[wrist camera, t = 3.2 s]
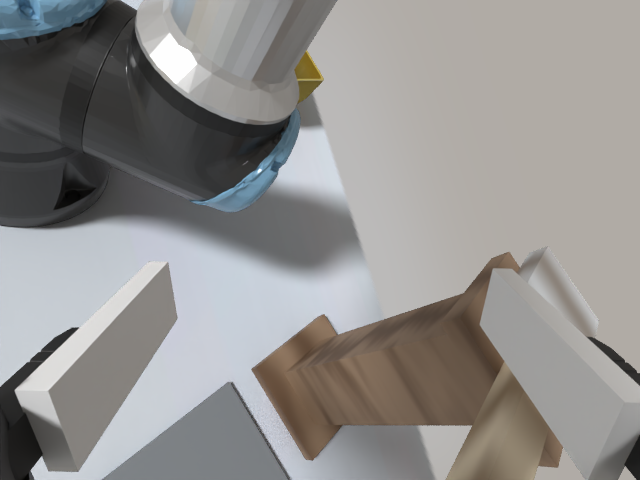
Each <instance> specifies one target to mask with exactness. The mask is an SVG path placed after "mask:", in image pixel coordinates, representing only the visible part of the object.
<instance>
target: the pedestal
mask: <svg viewBox="0 0 640 480" xmlns="http://www.w3.org/2000/svg"><path fill="white" fill-rule="evenodd" d="M493 268H505V269H513V270H514V271H515V272H516V273H517V272H518V270H519V269H520V267H519V266H518V264H517V263H516V262H515V260H514V258H513V257H512V255H511V254H510V253H509V252H507V253H504V254H502V255H499V256H497V257H494V258H492V259H491V260H490V261H489V262H488V264H487V265H486V266H485V267H484V269H483V270H482V271H481V272H480V274H479V275H478V276H477V277H476V279H475V280H474V281H473V282H472V284H471V285H470V286H469V287H468V289H467V290H466V291H465V293H463V294H460V295H457V296H454V297H451V298H448V299H445V300H442V301H439V302H436V303H433V304H430V305H427V306H424V307H421V308H418V309H415V310H412V311H408V312H405V313H402V314H399V315H396V316H394V317H390V318H387V319H384V320H381V321H378V322H375V323H372V324H369V325H366V326H363V327H360V328H357V329H354V330H351V331H348V332H345V333H342V334H339V335H337V334H336V332H335V331H334V329H333V328H332V326H331V324H330V323H329V321H328V320H327V318H326V316H325V315H324V314H323V315H321V316H319V317H317V318H316V319H315V320H313V321H312V322H311V323H310V324H308V325H307V326H306V327H304V328H303V329H302V330H301V331H299V332H298V333H297V334H296V335H294V336H293V337H292V338H290V339H289V340H288V341H287V342H285V343H284V344H283V345H282V346H280V347H279V348H278V349H276V350H275V351H274V352H273V353H271V354H270V355H269V356H268V357H266V358H265V359H264V360H262V361H261V362H260V363H259V364H257V365H256V366H255V367H254V368H252V369H251V370H252V371H253V373H254V375H255V376H256V378H257V380H258V381H259V383H260V385H261V386H262V388H263V390H264V391H265V393H266V395H267V396H268V398H269V399H270V401H271V403H272V404H273V406H274V408H275V409H276V411H277V413H278V414H279V416H280V418H281V419H282V421H283V423H284V424H285V426H286V428H287V429H288V431H289V433H290V434H291V436H292V437H293V439H294V441H295V442H296V444H297V446H298V447H299V449H300V451H301V452H302V454H303V456H304V457H305V459H306V460H312V461H313V460H314V458H315V457H316V456H317V455H318V454H319V452H320V451H321V450H322V449H323V448H324V446H325V445H326V444H327V443H328V442H329V441H330V439H331V438H332V437H333V436H334V435H335V433H336V432H337V431H338V430H339V429H340V427H341V426H342V425H473V424H474V422H475V420H476V418H477V416H478V413H479V411H480V409H481V407H482V405H483V403H484V401H485V399H486V397H487V395H488V393H489V391H490V389H491V387H492V385H493V383H494V381H495V379H496V377H497V375H498V373H499V371H500V369H501V367H502V365H503V363H504V360H503V358H502V357H501V355H500V354H499V353H498V351H497V350H496V348H495V347H494V345H493V344H492V342H491V341H490V339H489V338H488V336H487V335H486V334H485V332H484V331H483V329H482V328H481V326H480V321H481V316H482V312H483V308H484V304H485V299H486V295H487V291H488V287H489V283H490V278H491V274H492V270H493ZM562 449H563V446H562V445H561V443H560V442H559V440H558V439H557V437H556V436H555V434H554V433H553V432H552V430H551V429H550V427H549V430H548V433H547V437H546V440H545V443H544V447H543V450H542V454H541V457H540V461H539V464H538V466H545V467H556V468H557V467H558V465H559V461H560V457H561V453H562Z"/></svg>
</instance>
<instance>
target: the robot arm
mask: <svg viewBox="0 0 640 480" xmlns="http://www.w3.org/2000/svg"><path fill="white" fill-rule="evenodd" d="M336 2H337V0H144V1H143V2H142V3H141V4H140V6H139V8H138V10H135V9H134V8H132V7H130V6H129V5H127V4H125V3H124V2H122V1H121V0H0V225H5V226H17V227H30V226H41V225H48V224H53V223H57V222H61V221H64V220H67V219H69V218H72V217H74V216H76V215H78V214H80V213H82V212H83V211H85V210H86V209H88V208H89V207H90V206H91V205H93V204H94V203H95V202H96V201H97V200H98V198H99V197H100V196H101V194H102V193H103V191H104V189H105V187H106V184H107V181H108V175H109V169H110V166H112V167H114V168H117V169H119V170H121V171H123V172H126V173H128V174H130V175H133V176H135V177H137V178H140V179H142V180H144V181H146V182H149V183H151V184H153V185H156V186H158V187H160V188H163V189H165V190H167V191H169V192H172V193H174V194H176V195H179V196H181V197H183V198H186V199H188V200H189V201H190V202H192V203H195V204H200V205H207V206H209V207H212V208H215V209H218V210H220V211H223V212H237V211H241V210H243V209H245V208H247V207H249V206H250V205H251V204H253V203H254V202H255V201H256V200H258V199H259V198H260V197H261V196H262V195H263V194H264V193H265V191H266V190H267V189H268V188H269V187H270V185H271V184H272V183H273V181H274V180H275V179H276V177H277V175H278V170H279V168H280V167H281V166H282V165H284V164H285V163H286V161H287V159H288V157H289V155H290V154H291V152H292V149H293V147H294V145H295V142H296V140H297V137H298V133H299V129H300V120H301V119H300V114H299V111H298V110H297V108H296V106H297V103H298V100H299V86H298V81H297V78H296V74H295V71H294V69H295V68H296V66H297V64H298V63H299V61H300V60H301V58H302V56H303V55H304V53H305V52H306V50H307V48H308V47H309V45H310V43H311V42H312V40H313V39H314V37H315V36H316V34H317V32H318V31H319V29H320V27H321V26H322V24H323V22H324V21H325V19H326V18H327V16H328V15H329V13H330V11H331V10H332V8H333V7H334V5H335V3H336ZM176 320H177V313H176V307H175V301H174V295H173V289H172V283H171V277H170V271H169V265H168V262H157V261H149V262H148V263H147V264H146V265H145V266H144V267H143V268H142V269H141V270H139V271H138V272H137V273H136V274H135V275H134V276H133V277H132V278H131V279H130V280H129V281H128V282H127V283H126V284H125V285H124V286H123V287H122V288H121V289H120V290H119V291H118V292H116V293H115V294H114V295H113V296H112V297H111V298H110V299H109V300H108V301H107V302H106V303H105V304H104V305H103V306H102V307H101V308H100V309H99V310H98V311H97V312H96V313H95V314H94V315H92V316H91V317H90V318H89V319H88V320H87V321H86V322H85V323H84V324H83V325H82V326H81V327H80V328H71V329H69V330H67V331H66V332H64V333H62V334H60V335H59V336H57V337H55V338H54V339H53V340H52V341H50V342H49V343H48V344H47V345H46V346H45V347H44V348H43V349H42V350H41V352H38V353H37V354H36V355H35V356H34V357H33V358H32V359H31V360H30V362H27V363H26V364H25V365H24V366H23V367H22V368H21V369H20V370H18V371H17V372H16V373H15V374H14V375H13V376H12V377H11V378H10V379H8V380H7V381H6V382H5V383H4V384H3V385H2V386H1V387H0V480H34V477H33V475H32V473H31V471H30V470H31V469H32V468H33V466H34V465H35V464H36V462H37V461H38V460H39V459H40V457H41V456H42V457H43V459H44V462H45V464H46V466H47V469H48V471H65V472H78V471H79V470H80V468H81V467H82V465H83V464H84V462H85V461H86V459H87V457H88V456H89V454H90V453H91V451H92V450H93V448H94V447H95V445H96V444H97V442H98V441H99V439H100V437H101V436H102V434H103V433H104V431H105V430H106V428H107V427H108V425H109V424H110V422H111V420H112V419H113V417H114V416H115V414H116V413H117V411H118V410H119V408H120V407H121V405H122V404H123V402H124V400H125V399H126V397H127V396H128V394H129V393H130V391H131V390H132V388H133V387H134V385H135V384H136V382H137V380H138V379H139V377H140V376H141V374H142V373H143V371H144V370H145V368H146V367H147V365H148V363H149V362H150V360H151V359H152V357H153V356H154V354H155V353H156V351H157V350H158V348H159V347H160V345H161V343H162V342H163V340H164V339H165V337H166V336H167V334H168V333H169V331H170V330H171V328H172V326H173V325H174V323H175V322H176ZM480 326H481V328H482V329H483V331H484V332H485V334H486V335H487V336H488V338H489V339H490V341H491V342H492V344H493V345H494V347H495V348H496V350H497V351H498V353H499V354H500V355H501V357H502V358H503V360H504V361H505V363H506V364H507V366H508V367H509V369H510V370H511V372H512V373H513V375H514V376H515V377H516V379H517V380H518V382H519V383H520V385H521V386H522V388H523V389H524V391H525V392H526V394H527V395H528V396H529V398H530V399H531V401H532V402H533V404H534V405H535V407H536V408H537V410H538V411H539V413H540V414H541V415H542V417H543V418H544V420H545V421H546V423H547V424H548V426H549V427H550V429H551V430H552V432H553V433H554V434H555V436H556V437H557V439H558V440H559V442H560V443H561V445H562V446H563V448H564V449H565V451H566V452H567V453H568V455H569V456H570V458H571V459H572V461H573V462H574V464H575V465H576V467H577V468H578V469H579V471H580V472H581V474H582V475H583V477H584V478H585V480H618V478H619V476H620V475H621V473H622V471H623V469H624V467H625V466H626V467H627V468H628V470H629V471H630V472H631V473H632V475H633V476H634V477H635V478H636V480H640V373H637V371H636V370H635V369H634V368H633V367H632V366H631V365H630V364H629V363H625V360H624V359H623V358H622V357H621V356H619V355H618V354H617V353H616V352H615V351H614V350H613V349H611V348H610V347H608V346H607V345H605V344H603V343H602V342H600V341H598V340H596V339H595V338H593V337H586V336H585V335H584V334H583V333H582V332H580V331H579V330H578V329H577V328H576V327H575V326H574V325H573V324H572V323H571V322H570V321H568V320H567V319H566V318H565V317H564V316H563V315H562V314H561V313H560V312H559V311H557V310H556V309H555V308H554V307H553V306H552V305H551V304H550V303H549V302H548V301H547V300H545V299H544V298H543V297H542V296H541V295H540V294H539V293H538V292H537V291H536V290H535V289H533V288H532V287H531V286H530V285H529V284H528V283H527V282H526V281H525V280H524V279H523V278H521V277H520V276H519V275H518V274H517V273H516V272H515V271H514V270H513V269H505V268H493V270H492V274H491V278H490V283H489V287H488V291H487V295H486V299H485V304H484V308H483V312H482V316H481V321H480Z"/></svg>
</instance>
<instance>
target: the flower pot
mask: <svg viewBox="0 0 640 480" xmlns="http://www.w3.org/2000/svg"><path fill="white" fill-rule="evenodd" d="M294 71H295V74H296V78H297V81H298V86H299V100H298V103H300V102H301V101H303V100H304V99H306V98H307V97H308V96H309V95H310V94H311V93H312V92H313V91H314V90H315V89H316V88H317V87H318V86H319V85H320V84H321V83H322V81H323V80H324V78H323V77H322V75H321V73H320V71H319V70H318V68H317V67H316V65H315V63H314V62H313V60H312V58H311V56H310V55H309V53H308V51H307V50H306V52H305V53H304V55H303V56H302V58H301V60H300V61H299V63H298V64H297V66H296V68H295V69H294ZM298 103H297V104H298Z"/></svg>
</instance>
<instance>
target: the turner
mask: <svg viewBox="0 0 640 480" xmlns="http://www.w3.org/2000/svg"><path fill="white" fill-rule="evenodd" d="M517 274H518V275H519V276H520V277H521V278H523V279H524V280H525V281H526V282H527V283H528V284H529V285H530V286H531V287H532V288H533V289H535V290H536V291H537V292H538V293H539V294H540V295H541V296H542V297H543V298H544V299H545V300H547V301H548V302H549V303H550V304H551V305H552V306H553V307H554V308H555V309H556V310H557V311H559V312H560V313H561V314H562V315H563V316H564V317H565V318H566V319H567V320H568V321H570V322H571V323H572V324H573V325H574V326H575V327H576V328H577V329H578V330H579V331H580V332H582V333H583V334H584V335H585V336H586V337H593V338H595V336H596V331H597V327H598V322H599V320H598V319H597V317H596V316H595V314H594V313H593V311H592V310H591V308H590V307H589V306H588V304H587V303H586V301H585V300H584V298H583V297H582V295H581V294H580V292H579V291H578V289H577V288H576V286H575V285H574V284H573V282H572V281H571V280H570V278H569V276H568V275H567V273H566V272H565V270H564V269H563V267H562V266H561V264H560V263H559V262H558V260H557V258H556V257H555V256H554V254H553V253H552V251H551V250H550V248H549V247H548V246H547V247H544V248H541V249H539V250H536V251H533V252H531V253H529V255H528V256H527V258H526V259H525V261H524V263H523V264H522V266H521V267H520V269H519V270H518V272H517ZM548 430H549V426H548V424H547V423H546V421H545V420H544V418H543V417H542V415H541V414H540V413H539V411H538V410H537V408H536V407H535V405H534V404H533V402H532V401H531V399H530V398H529V396H528V395H527V394H526V392H525V391H524V389H523V388H522V386H521V385H520V383H519V382H518V380H517V379H516V377H515V376H514V375H513V373H512V372H511V370H510V369H509V367H508V366H507V364H506V363H505V361H504V363H503V365H502V367H501V369H500V371H499V373H498V375H497V377H496V379H495V381H494V383H493V385H492V387H491V389H490V391H489V393H488V395H487V397H486V399H485V401H484V403H483V405H482V407H481V409H480V411H479V413H478V416H477V418H476V420H475V422H474V424H473V426H472V428H471V430H470V432H469V434H468V436H467V438H466V440H465V442H464V444H463V446H462V448H461V450H460V452H459V454H458V456H457V458H456V460H455V462H454V464H453V466H452V468H451V470H450V472H449V474H448V476H447V478H446V480H534V478H535V474H536V471H537V468H538V464H539V461H540V457H541V454H542V450H543V447H544V443H545V440H546V437H547V433H548Z"/></svg>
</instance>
